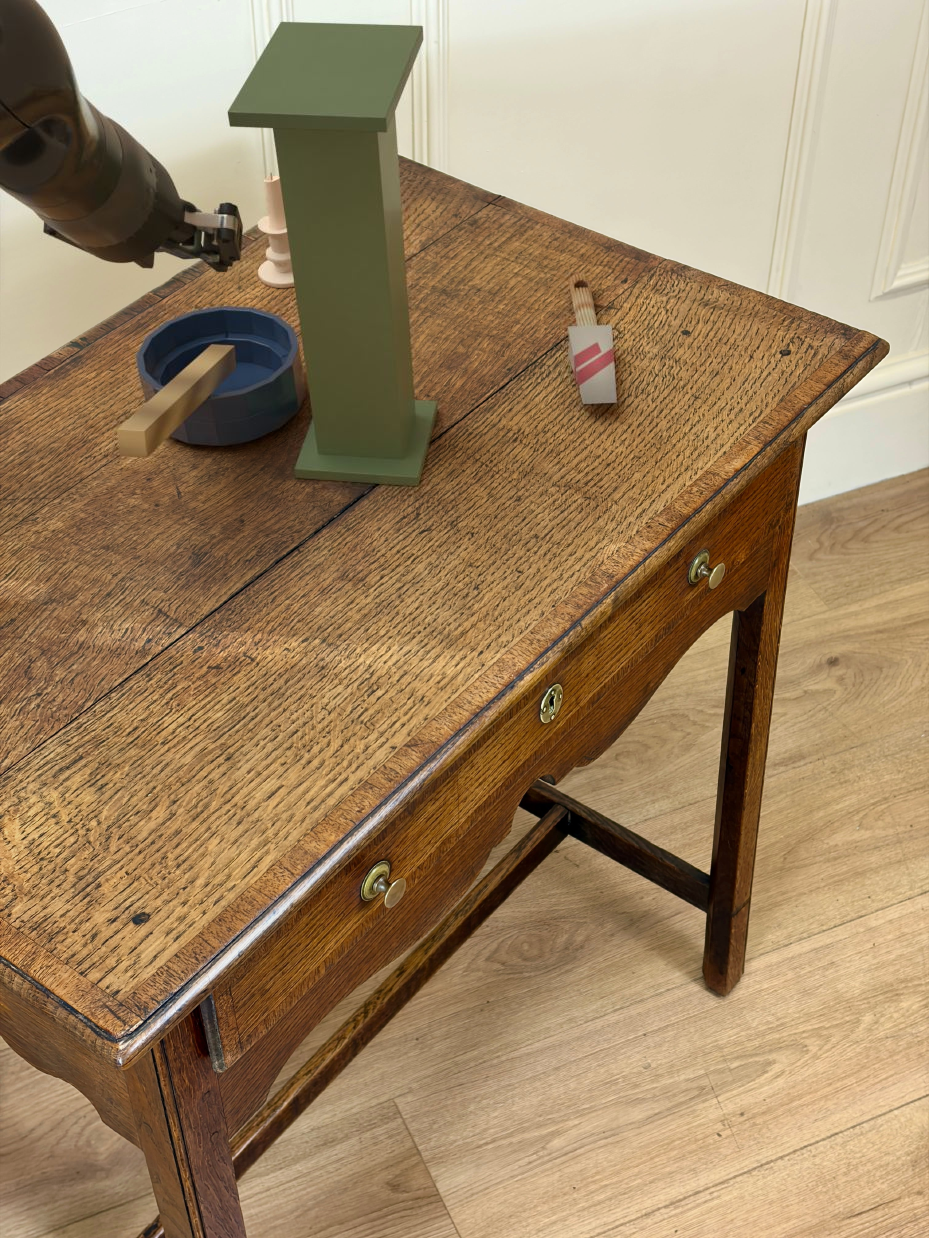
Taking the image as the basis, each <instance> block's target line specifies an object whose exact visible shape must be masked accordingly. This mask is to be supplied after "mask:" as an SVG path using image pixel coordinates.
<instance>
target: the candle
mask: <svg viewBox="0 0 929 1238" xmlns="http://www.w3.org/2000/svg"><path fill="white" fill-rule="evenodd" d="M263 185H264V193H265V194H264V195H265V203H266V211H267V215H265V216H262V217H261V219H259V220H258V222H257V228H258V230H259V231H260V232H262V233H265V234H266V235H267V234H268V242H269V247H267V249H266V250H265V257H266V259H267V260H265V261H264V262H263V263H261V265H259V268H258V270H257V275H258V276H257V277H258V279H259V281H260V282H261V283H263V284H264V285H266V286H268V287H272V288H277V289H278V288H279V289H289V288H295V286H294V278H293V271H292V264H291V257H290V250H289V242H288V235H287V228H286V221H285V214H284V206H283V199H282V192H281V185H280V177H279V175H273V173H272V172H270V176H269V177H266V178H265V179H264V180H263Z"/></svg>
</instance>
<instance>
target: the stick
mask: <svg viewBox="0 0 929 1238" xmlns="http://www.w3.org/2000/svg"><path fill="white" fill-rule="evenodd" d="M235 369H236V360H235V346H231V345H214V344H212V345H210V346H209V347H208V348H207V349H206V350H205V351H204V352H203V353H201V354H200V355H199V356H198V357H197V358H196V359H195V360H194V361H193V362H191V363H190V364H189V365H188V366H187V367H186V368H185V369H184V370H183V371H181V372H180V373H179V374H178V375H177V376H176V377H175V378H174V379H172V380H171V381H170V382H169V383H168V384H167V385H166V386H165V387H164V388H162V389H161V390H160V391H159V392H158V393H157V394H156V395H155V396H153V397H152V398H151V399H150V400H149V401H148V402H147V403H146V402H145V403H144V404H143V405H142V406H141V407H140V408H139V409H138V410H137V411H135V412H134V413H133V414H132V415H131V416H130V417H129V418H128V419H126V420H125V421H124V422H123V423H122V424H121V425H119V427H118V428H117V429H116V434H117V443H118V449H119V456H120V457H128V458H142V459H147V458H149V457H150V456H151V455H152V454H153V453H154V452H155V451H156V450H157V449H158V448H159V447H160V446H161V445H162V444H163V442H165V441H166V440H167V439H168V438H169V437H170V436H169V435H170V434H171V433H172V432H173V431H174V430H175V429H176V428H177V427H178V426H179V425H180V424H181V423H182V422H183V421H184V420H185V419H186V418H187V417H188V416H189V415H190V414H191V413H192V412H193V411H194V410H195V409H196V408H197V407H198V406H199V405H200V404H201V403H202V402H203V401H204V400H205V399H206V398H207V397H208V396H209V395H210V394H211V393H212V392H213V391H214V390H215V389H216V388H217V387H218V386H219V385H220V384H221V383H222V382H223V381H224V380H225V379H226V378H227V377H228V376H229V375H230V374H231V373H232V372H233V371H234V370H235Z"/></svg>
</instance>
